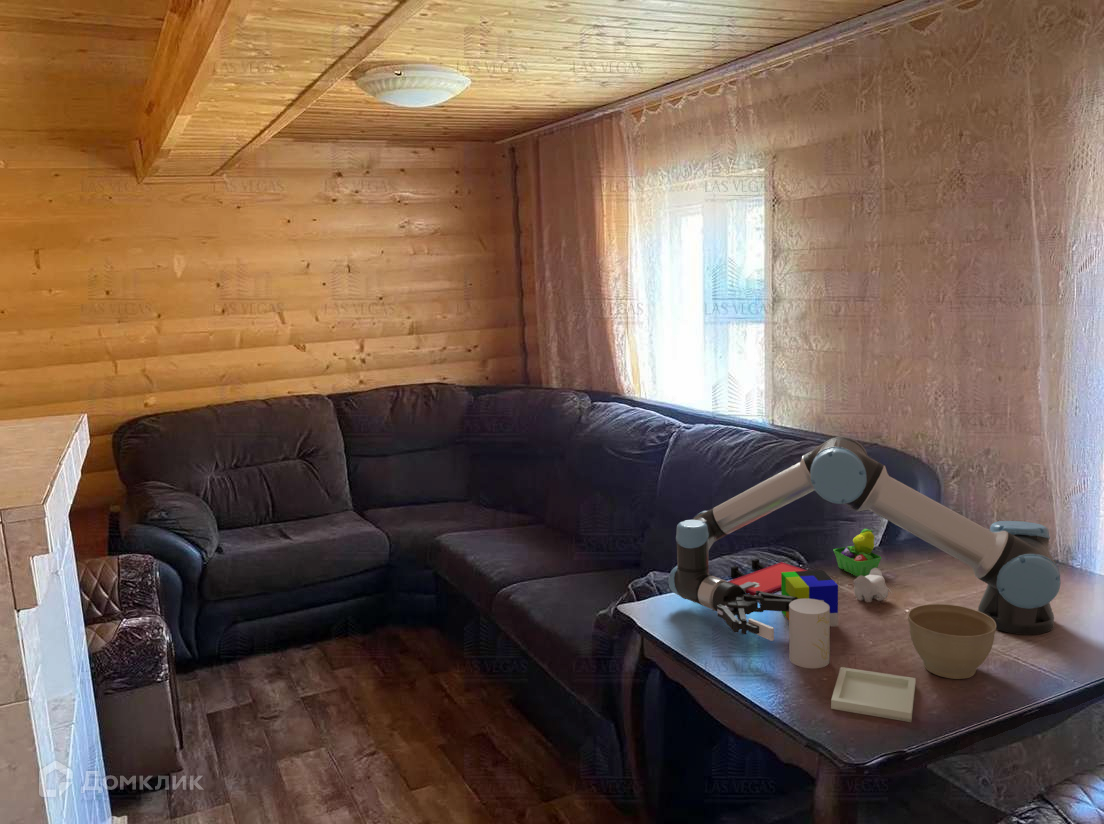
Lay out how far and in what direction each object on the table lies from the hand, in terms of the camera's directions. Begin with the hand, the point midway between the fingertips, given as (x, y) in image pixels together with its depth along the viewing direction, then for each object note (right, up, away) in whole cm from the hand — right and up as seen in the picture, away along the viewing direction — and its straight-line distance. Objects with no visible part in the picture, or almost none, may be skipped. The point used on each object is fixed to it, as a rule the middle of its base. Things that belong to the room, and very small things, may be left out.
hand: (794, 625), depth 183 cm
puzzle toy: (+9, -3, +19) cm, 21 cm away
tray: (+10, -9, -18) cm, 23 cm away
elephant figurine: (+27, -1, +28) cm, 38 cm away
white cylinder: (+3, -7, -1) cm, 8 cm away
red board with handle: (+2, 0, +43) cm, 43 cm away
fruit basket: (+30, +3, +47) cm, 56 cm away
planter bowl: (+29, -7, -8) cm, 31 cm away
